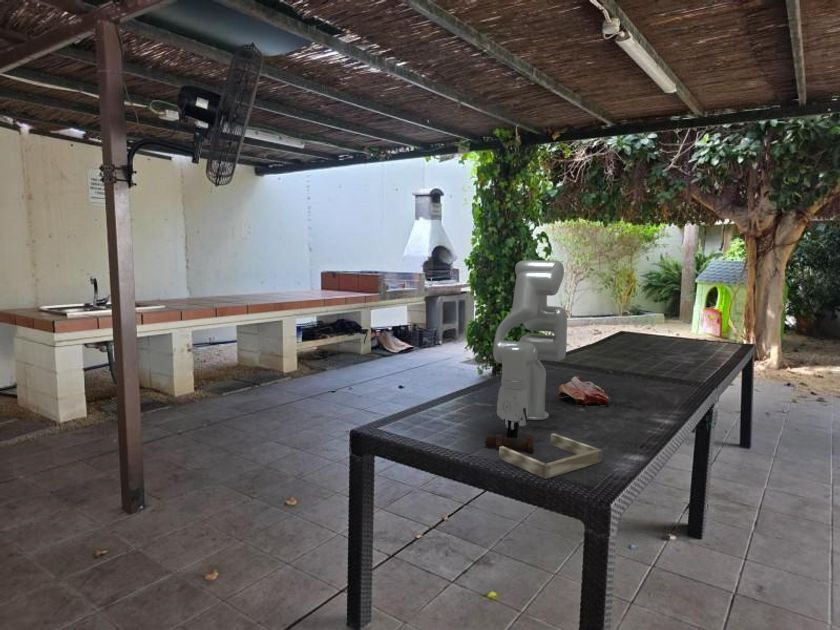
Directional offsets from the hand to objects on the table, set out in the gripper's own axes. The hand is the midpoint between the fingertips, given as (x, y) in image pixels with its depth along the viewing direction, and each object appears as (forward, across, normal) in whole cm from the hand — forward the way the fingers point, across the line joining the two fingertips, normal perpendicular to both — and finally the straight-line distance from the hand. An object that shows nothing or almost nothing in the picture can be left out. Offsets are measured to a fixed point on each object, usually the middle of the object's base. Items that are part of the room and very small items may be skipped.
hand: (512, 440), depth 172 cm
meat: (+2, -24, +66) cm, 70 cm away
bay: (+2, +15, 0) cm, 15 cm away
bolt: (+2, +2, -4) cm, 5 cm away
